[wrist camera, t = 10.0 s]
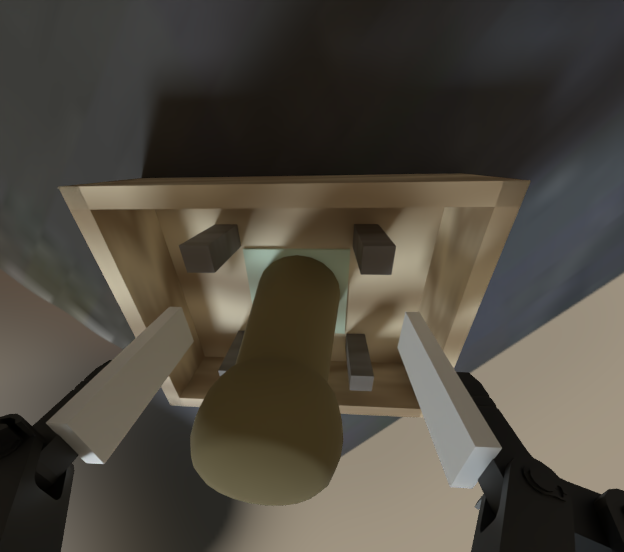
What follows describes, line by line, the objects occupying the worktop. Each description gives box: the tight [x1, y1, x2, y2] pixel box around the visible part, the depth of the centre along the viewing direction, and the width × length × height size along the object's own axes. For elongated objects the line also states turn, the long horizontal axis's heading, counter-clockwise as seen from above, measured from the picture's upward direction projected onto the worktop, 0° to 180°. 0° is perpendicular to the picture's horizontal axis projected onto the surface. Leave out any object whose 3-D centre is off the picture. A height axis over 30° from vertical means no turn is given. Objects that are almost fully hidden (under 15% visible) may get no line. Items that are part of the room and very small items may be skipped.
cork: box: [190, 255, 343, 506], centre depth 11 cm, size 6×6×11 cm
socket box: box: [58, 173, 530, 418], centre depth 15 cm, size 16×20×5 cm
